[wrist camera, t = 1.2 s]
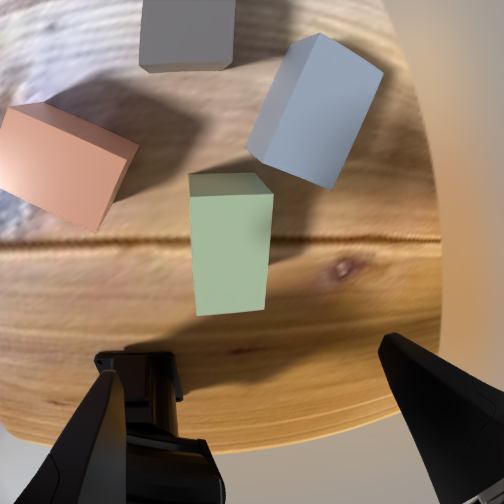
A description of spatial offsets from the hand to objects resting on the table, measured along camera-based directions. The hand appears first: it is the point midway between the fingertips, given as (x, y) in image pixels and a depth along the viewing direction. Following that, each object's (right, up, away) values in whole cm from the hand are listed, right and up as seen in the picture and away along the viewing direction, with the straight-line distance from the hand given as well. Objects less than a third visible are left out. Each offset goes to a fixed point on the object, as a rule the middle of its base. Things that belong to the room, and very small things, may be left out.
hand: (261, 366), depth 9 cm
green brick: (-2, +5, +9) cm, 10 cm away
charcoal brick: (-4, +15, +2) cm, 16 cm away
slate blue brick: (+2, +11, +6) cm, 13 cm away
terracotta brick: (-10, +9, +5) cm, 14 cm away
